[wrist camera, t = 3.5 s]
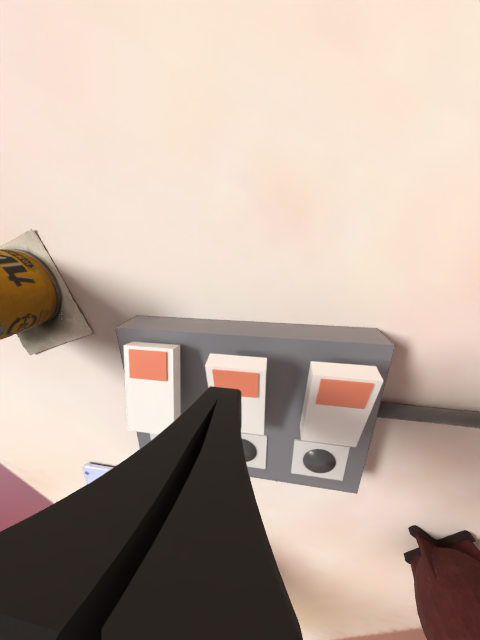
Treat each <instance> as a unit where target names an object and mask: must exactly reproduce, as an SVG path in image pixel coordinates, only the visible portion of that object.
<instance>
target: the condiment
mask: <svg viewBox="0 0 480 640" xmlns="http://www.w3.org/2000/svg"><path fill="white" fill-rule="evenodd" d="M61 312H63V315H61ZM61 316H62V317H63V320H61ZM13 334H17V335H18V337H19V338H20V341H21V343H22V345H23V347H24V348H25V349H26V350H27V352H28V353H29V355H32V354H35V353H38V352H41V351H43V350H46V349H49V348H52V347H55V346H58V345H61V344H64V343H66V342H69V341H72V340H76V339H78V338H81V337H84V336H87V335H90V334H93V332H92V330H91V328H90V327H89V326H88V324H87V322H86V320H85V318H84V316H83V315H82V314H81V312H80V311H79V308H78V306H77V305H76V303H75V301H74V300H73V299H72V296H71V294H70V293H69V291H68V288H67V286H66V284H65V282H64V280H63V279H62V277H61V275H60V274H59V272H58V270H57V269H56V267H55V265H54V263H53V262H52V260H51V258H50V256H49V254H48V253H47V251H46V250H45V248H44V247H43V244H42V242H41V241H40V239H39V238H38V236H37V235H36V233H35V232H34V231H33V230H32V229H31V230H29V231H27V232H25V233H24V234H22V235H20V236H18V237H16V238H15V239H13V240H12V241H10V242H8V243H6V244H5V245H3V246H1V247H0V340H1V339H4V338H7V337H9V336H12V335H13Z"/></svg>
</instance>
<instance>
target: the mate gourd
mask: <svg viewBox="0 0 480 640" xmlns="http://www.w3.org/2000/svg"><path fill="white" fill-rule="evenodd" d="M408 529H409V532H410V534H411V535H412V536H413V537H414V538H416V540H417V543H418V545H419V548H417V549H414V550H412V551H409V552H407V553H404V556H405V561H406V562H407V563H409V564H411V568H412V572H413V577H414V588H415V599H416V605H417V611H418V615H419V618H420V622H421V625H422V628H423V631H424V633H425V636H426V638H427V640H480V551H479V550H478V549H477V547H476V546H475V545H474V544H473V543H472V542H475V539H474V538H473V536H472V535H471V534H470V533H469V532H468V531H465V530H464V531H461V532H458V533H456V534H453V535H450V536H448V537H445V538H443V539H440V540H435V539H434V538H432V537H431V536H429V535H428V534H427V533H425V532H424V531H423V530H422V529H420V528H419V527H417V526H416V525H414V526H411V527H409V528H408Z"/></svg>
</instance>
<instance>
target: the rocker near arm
mask: <svg viewBox="0 0 480 640" xmlns="http://www.w3.org/2000/svg"><path fill="white" fill-rule="evenodd" d="M123 346H124V369H125V393H126V417H127V430H130V431H137V432H145V433H152V434H160V433H161V432H162V431H163V430H164V429H166V428H167V427H168V426H169V425H170V424H171V423H173V422H174V421H175V420H176V419H177V418H178V417H179V416H180V415H181V406H180V345H174V344H160V343H147V342H131V343H128V344H126V345H123Z"/></svg>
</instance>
